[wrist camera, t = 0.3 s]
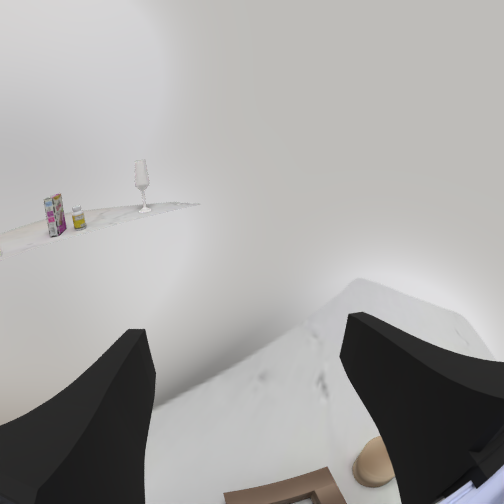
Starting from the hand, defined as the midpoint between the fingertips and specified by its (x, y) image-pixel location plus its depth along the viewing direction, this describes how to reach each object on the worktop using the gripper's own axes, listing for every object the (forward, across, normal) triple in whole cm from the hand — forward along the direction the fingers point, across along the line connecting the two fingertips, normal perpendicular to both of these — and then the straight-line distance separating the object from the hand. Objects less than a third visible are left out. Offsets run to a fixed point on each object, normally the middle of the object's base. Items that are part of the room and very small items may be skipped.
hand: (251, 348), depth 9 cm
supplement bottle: (+102, +58, +18) cm, 119 cm away
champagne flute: (+122, +32, +16) cm, 127 cm away
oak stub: (+2, -13, +21) cm, 25 cm away
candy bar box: (+100, +69, +19) cm, 123 cm away
